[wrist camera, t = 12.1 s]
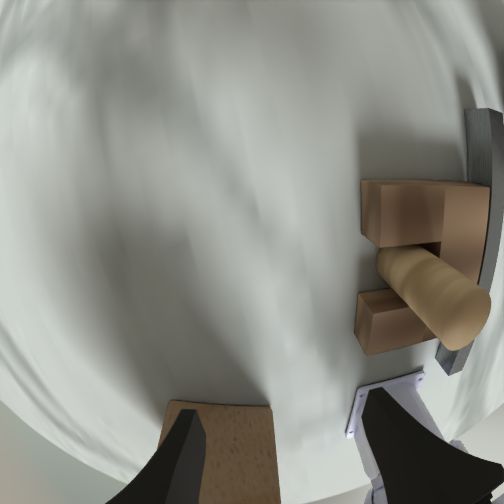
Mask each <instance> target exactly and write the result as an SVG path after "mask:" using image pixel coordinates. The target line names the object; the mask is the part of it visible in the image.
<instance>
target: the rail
mask: <svg viewBox="0 0 504 504" xmlns="http://www.w3.org/2000/svg"><path fill="white" fill-rule="evenodd" d="M464 112H465V121H466V132H467V150H468V182H470V183H474V184H478V185H482V186H486V187H490V194H489V209H488V220H487V229H486V237H485V244H484V250H483V256H482V262H481V267H480V272H479V277H478V281H477V285H478V286H480V287H481V288H483V289H484V290H485V291H487V292H488V293H489V292H490V288H491V284H492V280H493V276H494V271H495V267H496V262H497V256H498V251H499V245H500V238H501V231H502V223H503V214H504V124H503V114H502V113H501V112H498V111H495V110H493V109H490V108H482V109H468V110H464ZM474 340H475V339H474ZM474 340H473V341H472V342H470V343H469V344H468V345H466V346H465V347H463V348H461V349H459V350H454V351H453V350H448V349H447V348H446V347H445V346H444V345H443V344H442V342H441V343H440V346H439V349H438V352H437V355H436V358H435V359H436V360H437V361H438V363H439V364H440V365H441V367H442V368H443V369H444V371H445V372H446V373H447V375H448V376H449V375H452V374H454V373H457V372H459V371H461V370H462V369H463V367H464V365H465V362H466V360H467V357H468V355H469V353H470V350H471V348H472V345H473V342H474Z"/></svg>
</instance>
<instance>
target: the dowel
mask: <svg viewBox="0 0 504 504" xmlns="http://www.w3.org/2000/svg"><path fill="white" fill-rule="evenodd" d="M376 268H377V272H378V274H379V275H380V276H381V277H382V278H383V279H384V280H385V281H386V282H387V284H388V285H389V286H390V287H391V288H392V289H393V290H394V291H395V292H396V293H397V294H398V295H399V296H400V297H401V298H402V299H403V300H404V301H405V302H406V303H407V304H408V306H409V307H410V308H411V309H412V310H413V311H414V312H415V313H416V314H417V315H418V316H419V317H420V319H421V320H422V321H423V322H424V323H425V324H426V325H427V326H428V328H429V329H430V330H431V331H432V332H433V333H434V334H435V335H436V337H437V338H438V339H439V340H440V341H441V342H442V344H443V345H444V346H445V347H446V348H447V349H448V350H453V351H454V350H459V349H461V348H463V347H465V346H466V345H468V344H469V343H470V342H472V341H473V340H474V339H475V338H476V337H477V335H478V334H479V333H480V331H481V330H482V329H483V327H484V325H485V323H486V321H487V319H488V317H489V314H490V309H491V298H490V295H489V293H488V292H487V291H485V290H484V289H483V288H481V287H480V286H478V285H477V284H476V283H474V282H473V281H472V280H470V279H469V278H467V277H466V276H464V275H463V274H462V273H460V272H459V271H457V270H456V269H454V268H453V267H451V266H450V265H448V264H447V263H445V262H444V261H442V260H441V259H439V258H438V257H436V256H435V255H433V254H432V253H430V252H429V251H427V250H426V249H424V248H422V247H421V246H419V245H418V244H411V245H402V246H392V247H383V248H380V250H379V252H378V255H377V258H376Z"/></svg>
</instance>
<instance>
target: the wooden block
mask: <svg viewBox="0 0 504 504" xmlns="http://www.w3.org/2000/svg"><path fill="white" fill-rule="evenodd" d="M181 409H196V410H197V413H198V415H199V418H200V420H201V423H202V425H203V428H204V430H205V433H206V456H205V463H204V469H203V476H202V482H201V488H200V494H199V504H281V498H280V487H279V476H278V465H277V455H276V444H275V433H274V423H273V412H272V410H271V408H270V407H268V406H232V405H215V404H203V403H193V402H184V401H176V400H172V401H170V402H169V404H168V407H167V411H166V415H165V419H164V423H163V427H162V431H161V435H160V439H159V443H158V447H157V449H158V448H159V446H160V445H161V443H162V442H163V440H164V438H165V437H166V435H167V434H168V432H169V430H170V429H171V427H172V425H173V423H174V421H175V420H176V418H177V416H178V414H179V412H180V410H181Z"/></svg>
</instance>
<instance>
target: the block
mask: <svg viewBox="0 0 504 504" xmlns="http://www.w3.org/2000/svg"><path fill="white" fill-rule="evenodd" d="M489 194H490V187H486V186H482V185H478V184H474V183H470V182H466V181H446V180H361V197H362V225H361V234H362V235H364V236H365V237H366V238H368V239H369V240H370V241H371V242H373V243H374V244H375V245H377V246H378V247H379V248H383V247H392V246H402V245H411V244H418V245H419V246H421V247H422V248H424V249H426V250H427V251H429V252H430V253H432V254H433V255H435V256H436V257H438V258H439V259H441V260H442V261H444V262H445V263H447V264H448V265H450V266H451V267H453V268H454V269H456V270H457V271H459V272H460V273H462V274H463V275H464V276H466V277H467V278H469V279H470V280H472V281H473V282H474V283H476V284H477V281H478V277H479V272H480V267H481V262H482V256H483V250H484V244H485V237H486V229H487V220H488V209H489ZM354 334H355V335H356V337H357V339H358V341H359V343H360V345H361V346H362V348H363V350H364V352H365V354H366V356H368V355H372V354H377V353H381V352H386V351H390V350H394V349H398V348H402V347H406V346H410V345H413V344H417V343H421V342H424V341H428V340H431V339H434V338H437V337H436V335H435V334H434V333H433V332H432V331H431V330H430V329H429V328H428V326H427V325H426V324H425V323H424V322H423V321H422V320H421V319H420V317H419V316H418V315H417V314H416V313H415V312H414V311H413V310H412V309H411V308H410V307H409V306H408V304H407V303H406V302H405V301H404V300H403V299H402V298H401V297H400V296H399V295H398V294H397V293H396V292H395V291H394V290H393V289H392V288H389V289H383V290H376V291H370V292H363V293H358V302H357V312H356V321H355V330H354Z"/></svg>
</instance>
